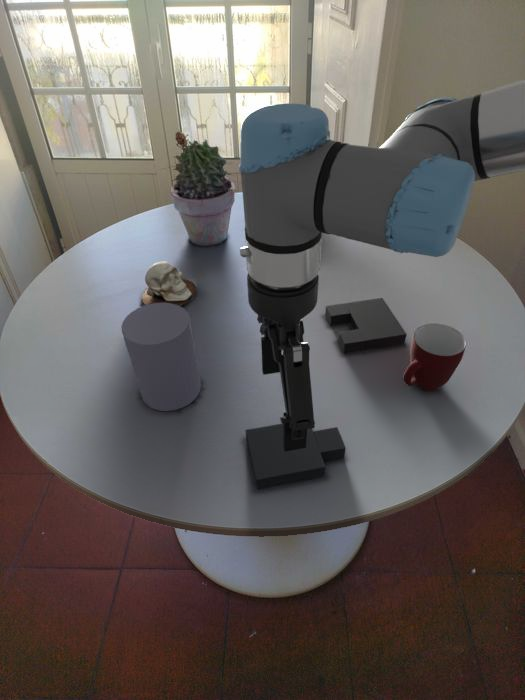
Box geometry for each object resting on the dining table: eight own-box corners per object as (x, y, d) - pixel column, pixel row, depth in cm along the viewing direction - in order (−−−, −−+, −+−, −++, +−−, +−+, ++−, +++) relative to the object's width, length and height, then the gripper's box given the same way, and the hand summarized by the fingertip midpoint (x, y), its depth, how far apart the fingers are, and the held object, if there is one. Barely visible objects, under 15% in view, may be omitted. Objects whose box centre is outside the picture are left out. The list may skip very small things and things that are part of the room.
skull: (211, 284, 104) (185, 269, 95) (190, 326, 104) (162, 315, 95) (172, 266, 109) (144, 250, 100) (153, 306, 109) (123, 294, 100)
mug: (425, 416, 76) (439, 372, 69) (384, 389, 80) (393, 346, 73) (460, 383, 81) (476, 339, 74) (420, 360, 85) (431, 316, 78)
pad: (349, 472, 68) (351, 462, 67) (256, 489, 67) (256, 480, 65) (331, 424, 75) (332, 414, 73) (246, 439, 73) (245, 429, 72)
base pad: (404, 344, 89) (406, 334, 87) (343, 354, 87) (344, 344, 85) (380, 307, 97) (382, 297, 96) (325, 315, 96) (325, 305, 94)
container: (213, 389, 82) (202, 322, 71) (163, 422, 76) (145, 354, 66) (178, 361, 87) (164, 294, 77) (130, 389, 82) (108, 323, 72)
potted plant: (234, 259, 114) (226, 154, 97) (162, 249, 118) (142, 147, 102) (258, 225, 126) (253, 127, 110) (191, 217, 131) (178, 122, 114)
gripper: (230, 221, 57) (240, 349, 72) (272, 357, 39) (274, 493, 53) (289, 214, 58) (288, 342, 72) (358, 344, 40) (337, 481, 54)
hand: (282, 406), depth 63 cm, fingers open, 13 cm apart
